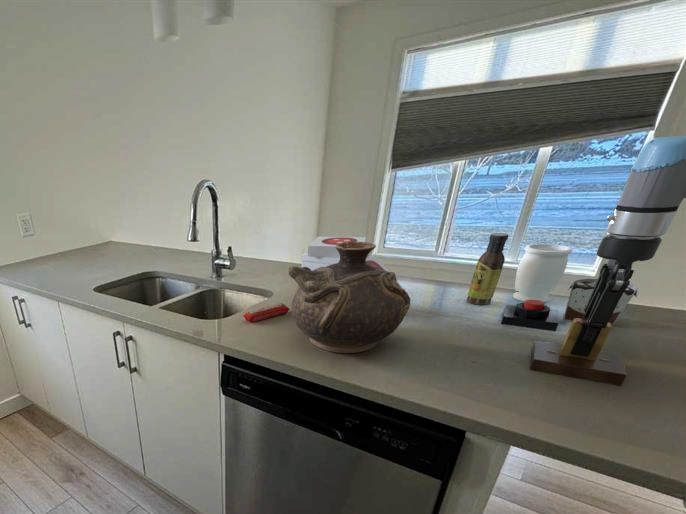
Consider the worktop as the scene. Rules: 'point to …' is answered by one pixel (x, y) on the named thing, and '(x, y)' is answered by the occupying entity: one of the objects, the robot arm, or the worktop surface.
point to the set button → (534, 304)
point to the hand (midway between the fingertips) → (578, 351)
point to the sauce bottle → (488, 271)
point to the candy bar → (266, 312)
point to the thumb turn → (572, 339)
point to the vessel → (348, 301)
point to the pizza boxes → (332, 253)
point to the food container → (582, 293)
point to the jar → (540, 271)
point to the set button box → (530, 317)
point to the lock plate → (578, 364)
